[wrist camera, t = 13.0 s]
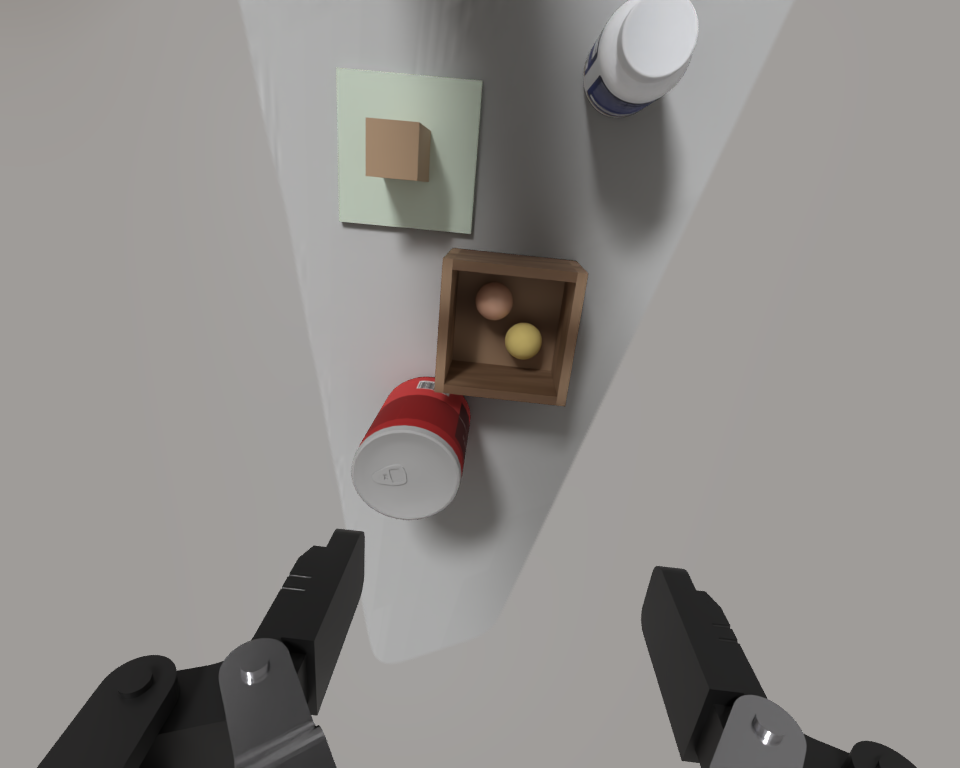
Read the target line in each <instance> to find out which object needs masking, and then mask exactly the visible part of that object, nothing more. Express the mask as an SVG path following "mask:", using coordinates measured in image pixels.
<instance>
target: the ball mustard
mask: <svg viewBox="0 0 960 768" xmlns="http://www.w3.org/2000/svg"><path fill="white" fill-rule="evenodd" d="M541 345H542V337H541V334H540V332H539V330H538V329H537V328H536V327H535V326H533V325H532V324H529V323H518V324H515V325H514V326H512V327H511V328H510V329H509V330H508V332H507V334H506V337H505V346H506V349H507V351H508V352H509V353H510V354H511V355H512V356H513V357H515V358H517V359H523V360H524V359H529V358H532V357H533V356H535V355H536V354H537V353H538V352H539V350H540V348H541Z"/></svg>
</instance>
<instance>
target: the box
mask: <svg viewBox="0 0 960 768" xmlns="http://www.w3.org/2000/svg"><path fill="white" fill-rule="evenodd" d="M587 278H588V273H587V272H586V271H585V270H584V269H583V268H582V266H581V265H580V264H579V263H578V262H577V261H573V260H563V259H554V258H544V257H535V256H525V255H516V254H506V253H496V252H487V251H477V250H468V249H458V248H452V249H451V250H450V251H449V253H448V254H447V255H446V256H445V257H444V258H443V265H442V280H441V295H440V310H439V326H438V341H437V356H436V371H435V387H434V392H438V393H447V394H456V395H465V396H474V397H484V398H493V399H502V400H511V401H520V402H529V403H539V404H548V405H557V406H565V404H566V398H567V392H568V386H569V381H570V375H571V369H572V364H573V358H574V352H575V347H576V341H577V335H578V329H579V324H580V318H581V312H582V307H583V301H584V295H585V289H586V284H587ZM490 282H499V283H502V284H504V285H505V286H507V287H508V288H509V290H510V291H511V293H512V296H513V306H512V309H511V311H510V313H509V314H508V315H507V316H506V317H504V318H502V319H500V320H489V319H486V318H484V317H483V316H482V315H481V314H480V313H479V312H478V310H477V308H476V303H475V299H476V295H477V292H478V291H479V289H480V288H481V287H482V286H484V285H485V284H487V283H490ZM518 323H529V324H532V325H533V326H535V327H536V328H537V329H538V330H539V332H540V334H541V337H542V345H541V348H540V350H539V352H538V353H537V354H536V355H535V356H533V357H532V358H529V359H524V360H523V359H517V358H515V357H513V356H512V355H511V354H510V353H509V352H508V351H507V349H506V346H505V337H506V334H507V332H508V330H509V329H510V328H511V327H512V326H514V325H515V324H518Z"/></svg>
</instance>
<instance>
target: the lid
mask: <svg viewBox="0 0 960 768" xmlns="http://www.w3.org/2000/svg"><path fill="white" fill-rule="evenodd" d="M336 81H337V134H338V187H339V222H350V223H360V224H371V225H382V226H392V227H403V228H413V229H424V230H434V231H445V232H455V233H466V234H471V229H472V216H473V203H474V190H475V177H476V163H477V150H478V137H479V124H480V111H481V98H482V85H483V81H482V80H471V79H459V78H448V77H436V76H425V75H414V74H402V73H391V72H380V71H368V70H357V69H346V68H336Z"/></svg>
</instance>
